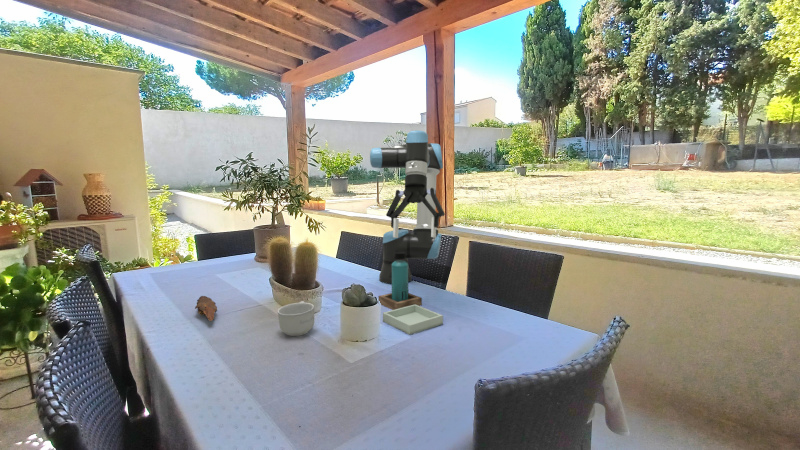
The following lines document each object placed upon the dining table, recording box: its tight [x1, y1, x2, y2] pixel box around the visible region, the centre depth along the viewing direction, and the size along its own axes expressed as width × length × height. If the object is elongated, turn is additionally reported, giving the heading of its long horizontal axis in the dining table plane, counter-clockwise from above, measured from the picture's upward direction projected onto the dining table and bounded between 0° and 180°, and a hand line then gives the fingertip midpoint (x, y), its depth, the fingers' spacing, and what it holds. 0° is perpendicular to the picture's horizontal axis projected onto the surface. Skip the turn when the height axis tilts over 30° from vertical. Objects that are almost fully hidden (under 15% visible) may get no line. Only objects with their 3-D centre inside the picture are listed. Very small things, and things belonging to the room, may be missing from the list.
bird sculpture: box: [194, 295, 218, 322], centre depth 132 cm, size 7×25×5 cm, turn 36°
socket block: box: [378, 292, 423, 311], centre depth 144 cm, size 12×12×3 cm
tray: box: [382, 304, 444, 336], centre depth 126 cm, size 14×14×3 cm
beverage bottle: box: [391, 252, 410, 302], centre depth 143 cm, size 6×7×20 cm
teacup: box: [277, 300, 315, 337], centre depth 119 cm, size 14×11×8 cm
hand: (414, 237), depth 129 cm, fingers open, 13 cm apart
